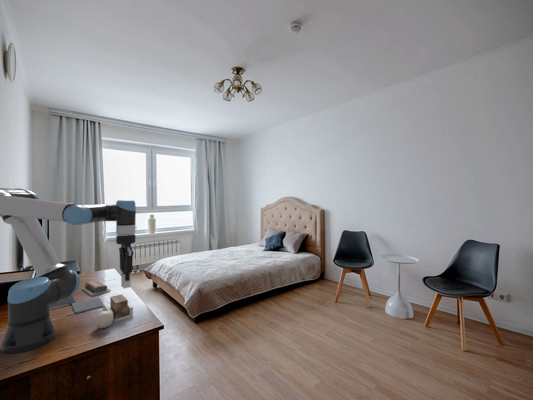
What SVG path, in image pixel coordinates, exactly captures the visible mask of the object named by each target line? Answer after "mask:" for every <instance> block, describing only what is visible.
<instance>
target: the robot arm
mask: <svg viewBox="0 0 533 400" xmlns="http://www.w3.org/2000/svg"><path fill="white" fill-rule="evenodd" d="M136 212H137V209H136V201H135V200H133V199H132V200H130V199H118V200H117V201H116V203H115V204H104V203H103V204H101V203H97V204H78V203H72V202H70V203H68V202H62V201H54V200H47V199H40V198H39V196H38V195H37V193H35V192H33V191H31V190H30V189H24V188H7V187H5V188H3V187H0V218H1V219H2V221H3V223H4V224H7V225H10V226H11V228H12V230H13V231H14V233H15V235H16V237H17V239H18V242H19V243H20V244H21V246H22V248H23V250H24V252H25V255H26V256H27V258H28V260H29V263H30V264H31V266H32V268H33V270H34V271H35V276H34V277H31V278H29V279H23V280H21V281H18V282H16V283H15V284H13V285H12V286H11V287H10V288H9V290H8V296H7V327H6V331H5V334H4V336H3V338H2V340H1V343H0V351H1V352H2V353H5V354H15V353H16V354H17V353H22V352H26V351H29V350H33V349H35V348H39V347H41V346H42V345H45V344H47V343H48V342H50V341H51V340H53V339H54V337H55V336H56V327H55V325H54V323H53V321H52V320H51V317H50V310H49V309H50V306H51V305H53V304H55V303H57V302H59V301H61V300H63V299H65V298H67V297H69V296H70V295H72V296H73V295H74V294H75V293H76V292H78V291H77V290H78V289H79V288H80V285H81V284H80V283H81V278H80V275H79V274H78V272H77V271H74V270H72V269H69V268H68V266H67V264H64V263H61V262H60V260H59V258H58V256H57V254H56V252H55V250H54V249H53V246H52V244H51V243H50V240H49V238H48V237H47V235H46V232H45V231H44V228H43V227H42V225H41V223H40V221H39V220H46V221H55V222H63V223H68V225H73V226H81V225H85V224H86V225H87V224H95V223H100V222H101V223H102V222H116V226H115V230H116V231H115V234H116V236H115V239H116V240H115V242H116V244H117V245H120V247H119V248H118V251H119V270H120V272H121V273H120V274H121V275H120V276H121V277H120V279H121V288H122V289H128V288H129V289H130V288H131V273H133V262H134V261H133V259H134V251H133V247H132V244H134V243H136V241H137V240H136V229H137V225H136V217H137V215H136Z"/></svg>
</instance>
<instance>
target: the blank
mask: <svg viewBox="0 0 533 400" xmlns="http://www.w3.org/2000/svg"><path fill="white" fill-rule="evenodd" d="M128 302H129V301H128V298H126V296H125V295H123V294H117V295H112V296H110V306H109V307H110V309H111V310H112V311H113V320H114V319H117V318H121V317H124V316H128V315H129V314H128Z"/></svg>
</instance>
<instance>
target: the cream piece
mask: <svg viewBox="0 0 533 400" xmlns="http://www.w3.org/2000/svg"><path fill="white" fill-rule="evenodd" d="M112 321H113V322H114V317H113V314H112V313H111V312H110V311H103V310H102V311H101V312H99V313H98V314H96V316H95V317H94V318H93V321H92V322H93V326H95V327H96V328H98V329H106V328H108V327H109V326H112V325H111V324H113V322H112Z"/></svg>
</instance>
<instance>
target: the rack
mask: <svg viewBox="0 0 533 400" xmlns="http://www.w3.org/2000/svg"><path fill="white" fill-rule="evenodd" d="M102 303H103V307H102V312H103V311H110V312H111V313H112V314H113V311H112V310H111V309H110V306H109V304H108V303H107V302H106V301H105V302H103V301H102ZM132 315H133V316H134V306H133V305H131V304H130V303H129V301H128V316H124V317H121V318H117V319H114V318H113V321H112V323H114V322H115V323H116V322H118V321H121V320H124V319H128V318H131V317H133V316H132Z"/></svg>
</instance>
